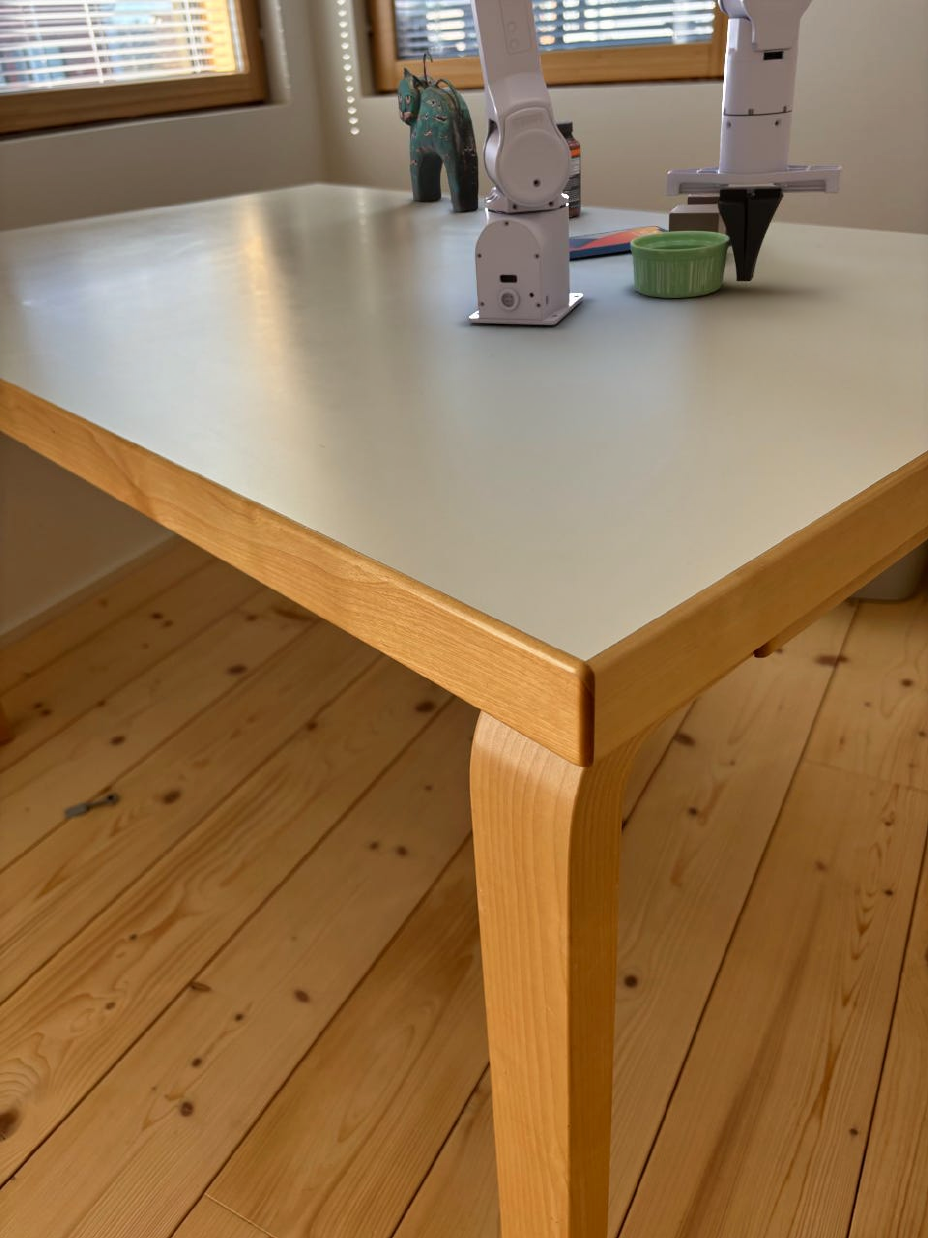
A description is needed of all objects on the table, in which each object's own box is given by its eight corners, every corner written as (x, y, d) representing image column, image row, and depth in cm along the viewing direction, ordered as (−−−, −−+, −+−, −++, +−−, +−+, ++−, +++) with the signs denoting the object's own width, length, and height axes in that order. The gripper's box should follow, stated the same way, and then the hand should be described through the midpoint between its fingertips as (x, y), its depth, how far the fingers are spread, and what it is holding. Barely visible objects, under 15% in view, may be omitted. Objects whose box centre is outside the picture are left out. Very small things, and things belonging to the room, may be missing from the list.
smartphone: (531, 251, 113) (530, 242, 113) (654, 234, 116) (654, 224, 115) (551, 263, 107) (550, 253, 107) (681, 245, 110) (681, 235, 109)
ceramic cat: (402, 199, 156) (389, 52, 146) (440, 194, 158) (430, 49, 148) (452, 214, 140) (441, 51, 130) (493, 208, 142) (486, 47, 132)
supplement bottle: (528, 215, 134) (525, 122, 129) (566, 209, 136) (565, 118, 131) (549, 221, 130) (547, 124, 124) (589, 215, 132) (588, 119, 126)
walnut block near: (716, 264, 101) (719, 212, 98) (667, 264, 103) (668, 212, 100) (724, 254, 105) (727, 203, 102) (676, 254, 107) (678, 204, 104)
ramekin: (735, 278, 95) (738, 230, 93) (716, 301, 88) (719, 249, 86) (643, 276, 99) (644, 230, 96) (618, 299, 92) (618, 249, 89)
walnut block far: (731, 245, 109) (734, 195, 106) (685, 245, 111) (687, 196, 108) (737, 236, 113) (741, 188, 110) (693, 236, 115) (695, 189, 112)
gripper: (851, 103, 84) (832, 269, 91) (679, 111, 89) (673, 268, 96) (846, 111, 79) (826, 287, 86) (663, 119, 84) (658, 285, 91)
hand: (744, 278), depth 91 cm, fingers closed
